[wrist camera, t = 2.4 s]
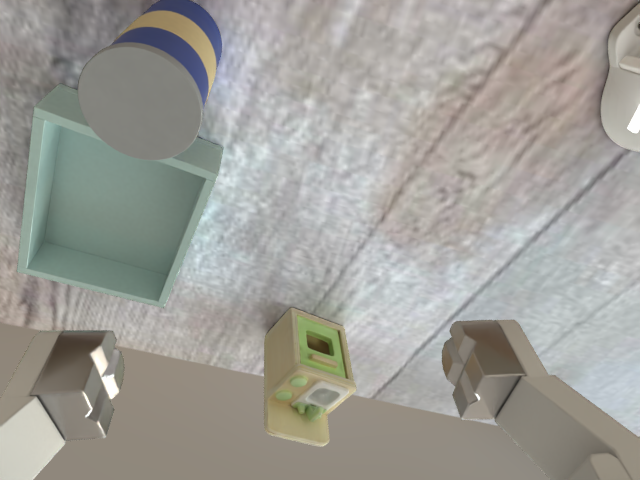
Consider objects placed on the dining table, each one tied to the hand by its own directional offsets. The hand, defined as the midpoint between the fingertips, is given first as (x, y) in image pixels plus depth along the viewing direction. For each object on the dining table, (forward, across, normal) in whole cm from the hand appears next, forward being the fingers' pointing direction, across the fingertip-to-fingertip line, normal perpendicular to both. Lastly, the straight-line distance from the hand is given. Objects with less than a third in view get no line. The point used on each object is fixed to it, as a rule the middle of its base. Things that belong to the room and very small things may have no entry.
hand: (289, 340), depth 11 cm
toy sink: (+30, -4, +36) cm, 47 cm away
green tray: (+30, +14, +15) cm, 36 cm away
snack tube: (+29, +7, +1) cm, 30 cm away
